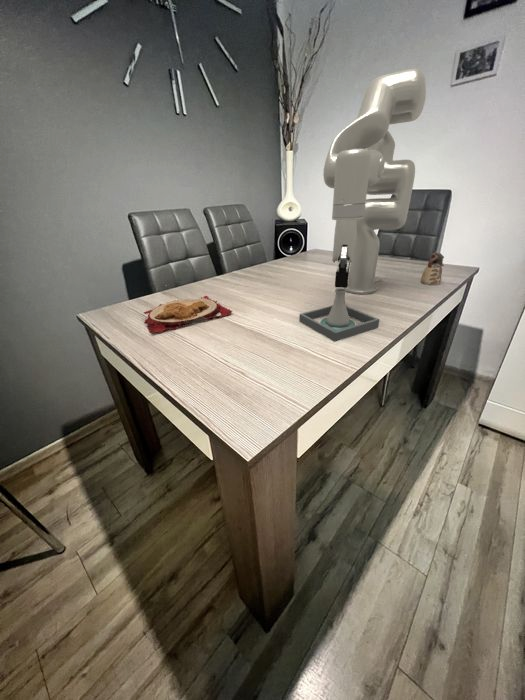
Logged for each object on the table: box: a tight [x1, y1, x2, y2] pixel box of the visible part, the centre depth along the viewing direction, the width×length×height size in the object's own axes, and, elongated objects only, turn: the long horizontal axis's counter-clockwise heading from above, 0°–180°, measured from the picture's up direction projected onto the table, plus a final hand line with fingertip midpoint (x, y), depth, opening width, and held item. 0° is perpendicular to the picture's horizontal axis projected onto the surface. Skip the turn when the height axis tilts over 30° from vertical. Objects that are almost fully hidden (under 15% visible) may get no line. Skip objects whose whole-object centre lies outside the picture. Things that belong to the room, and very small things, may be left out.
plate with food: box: [143, 295, 233, 334], centre depth 94 cm, size 25×26×4 cm
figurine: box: [420, 252, 445, 286], centre depth 109 cm, size 7×7×12 cm
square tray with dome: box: [298, 304, 380, 342], centre depth 80 cm, size 16×16×2 cm
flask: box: [325, 287, 351, 327], centre depth 78 cm, size 7×7×10 cm
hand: (341, 281), depth 75 cm, fingers open, 9 cm apart
